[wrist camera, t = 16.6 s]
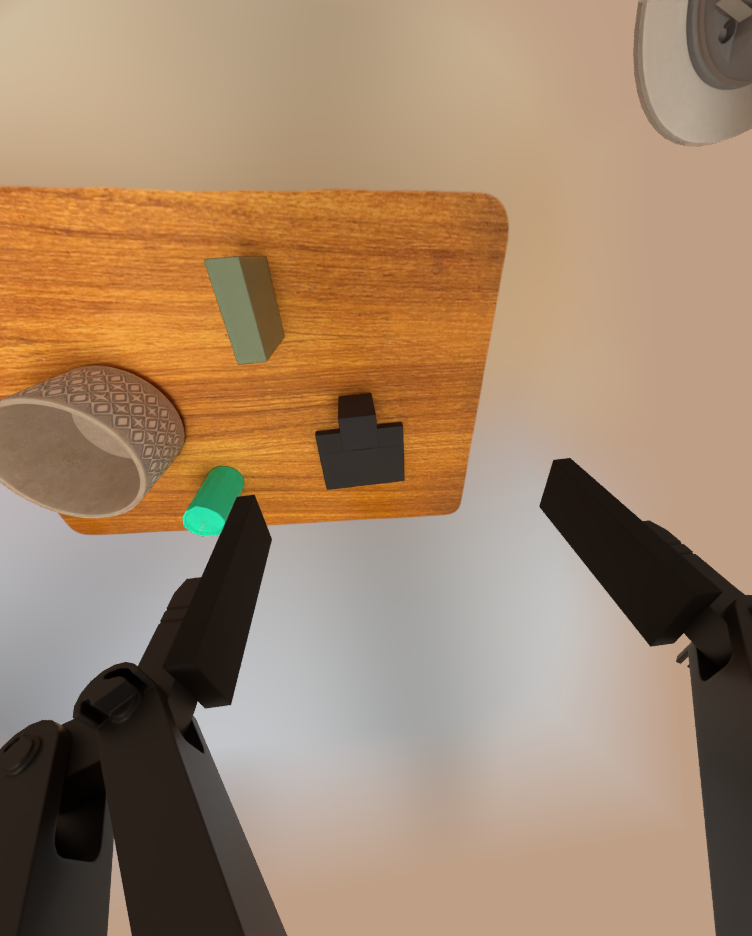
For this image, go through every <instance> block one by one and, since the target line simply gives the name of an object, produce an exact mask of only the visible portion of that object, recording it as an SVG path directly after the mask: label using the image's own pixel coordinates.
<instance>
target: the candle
mask: <svg viewBox="0 0 752 936" xmlns="http://www.w3.org/2000/svg"><path fill="white" fill-rule="evenodd" d="M243 487H244V478H243V477H242V475H241V474H240V473H239V472H238V471H236V470H234V469H232V468H230V467H222V466H219V467H216V468H214V469H212V470H211V471H210V473H209V474H208V476H207V478H206V479H205V481H204V483H203V484H202V486H201V487H200V489H199V491H198V492H197V494H196V496H195V497H194V499H193V501H192V502H191V504H190V505H189V507H188V509H187V510H186V512H185V514H184V515H183V524H184V527H185V528H187V529H188V530H189V531H190V532H192V533H195V534H197V535H200V536H214V535H218V534H221V531H222V529H223V527H224V525H225V522H226V520H227V518H228V515H229V513H230V511H231V509H232V506H233V504H234V502H235V499H236V497H239V496H240V494H241V491H242V489H243Z"/></svg>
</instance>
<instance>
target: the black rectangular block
mask: <svg viewBox="0 0 752 936" xmlns="http://www.w3.org/2000/svg"><path fill="white" fill-rule="evenodd" d="M338 421H339V427H340V434H341V440H342V446H343V451H350V450H358V449H367V448H376V447H379V446H378V433H377V421H376V413H375V408H374V404H373V399H372V395H371V393H367V394H358V395H348V396H339V401H338Z"/></svg>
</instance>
